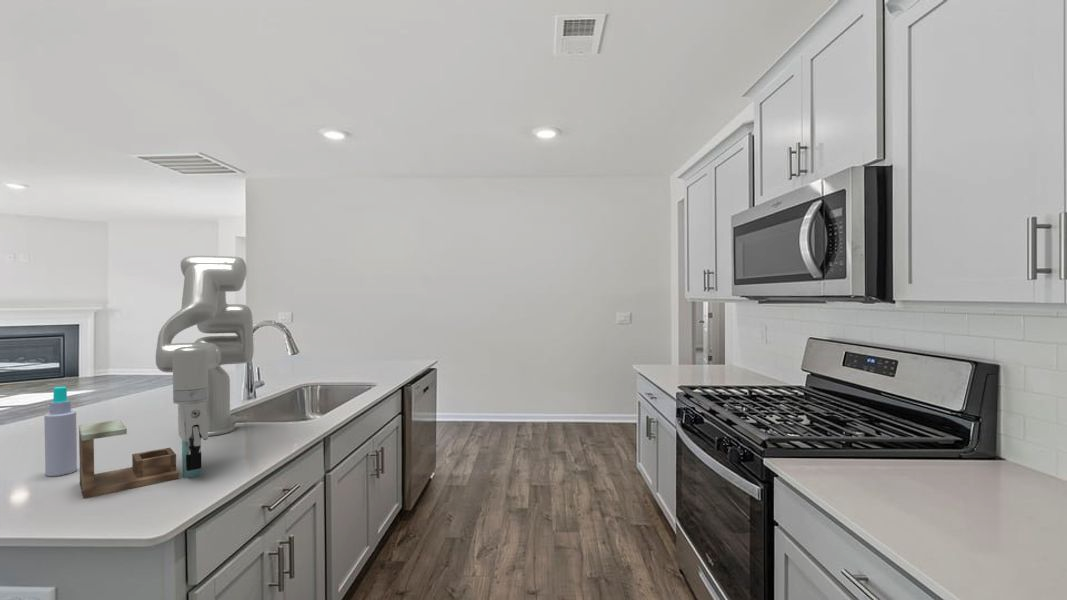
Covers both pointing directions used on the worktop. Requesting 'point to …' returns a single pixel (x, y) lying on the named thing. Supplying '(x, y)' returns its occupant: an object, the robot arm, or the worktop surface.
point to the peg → (185, 473)
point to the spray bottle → (60, 436)
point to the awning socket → (142, 472)
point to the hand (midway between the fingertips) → (191, 466)
